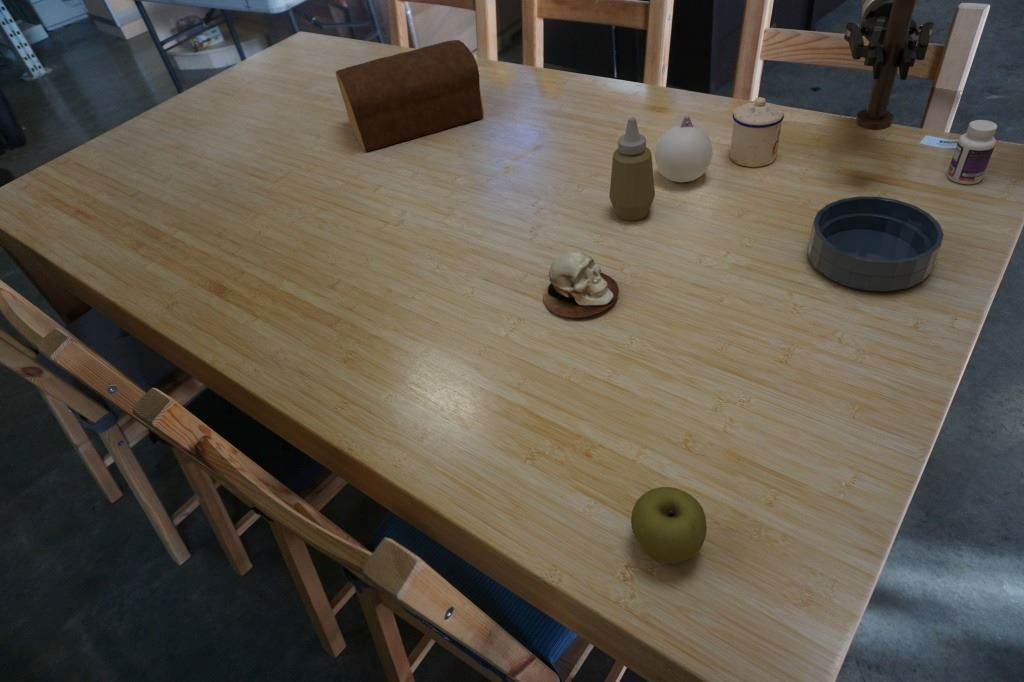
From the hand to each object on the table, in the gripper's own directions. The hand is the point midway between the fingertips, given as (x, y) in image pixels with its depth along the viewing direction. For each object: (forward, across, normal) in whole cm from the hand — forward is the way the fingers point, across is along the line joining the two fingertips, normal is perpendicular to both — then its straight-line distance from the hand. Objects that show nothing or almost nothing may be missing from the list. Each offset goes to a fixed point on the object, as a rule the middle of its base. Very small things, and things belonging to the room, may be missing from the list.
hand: (891, 70), depth 102 cm
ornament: (-3, +31, -22) cm, 38 cm away
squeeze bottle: (+11, +38, -22) cm, 45 cm away
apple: (+75, +20, -22) cm, 81 cm away
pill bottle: (-9, -17, -22) cm, 29 cm away
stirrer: (-5, 0, -11) cm, 12 cm away
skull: (+35, +40, -22) cm, 58 cm away
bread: (-20, +96, -22) cm, 101 cm away
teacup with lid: (-14, +19, -22) cm, 32 cm away
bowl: (+18, -1, -22) cm, 29 cm away
